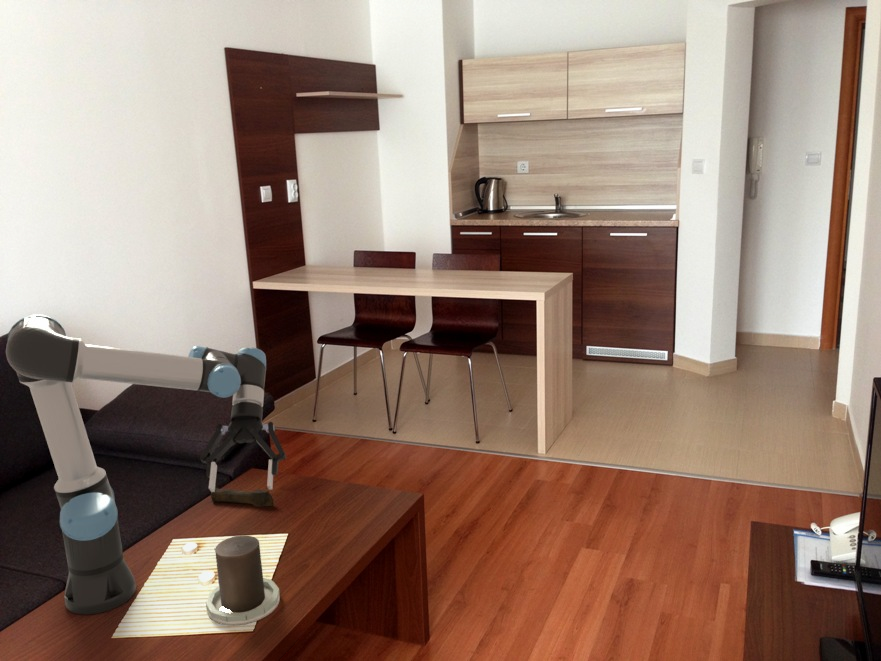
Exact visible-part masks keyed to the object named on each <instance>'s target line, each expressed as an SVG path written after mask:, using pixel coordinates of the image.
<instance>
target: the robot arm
mask: <svg viewBox="0 0 881 661" xmlns="http://www.w3.org/2000/svg"><path fill="white" fill-rule="evenodd" d="M5 346H6V348H5V355H6V360H7V362H8V364H9V366H10V367H11V368H12V369H13V370H14V371H15V372H16V375H17V378H18V382H19V383H20V384H22V385H24V386H27V387H29V390H30V394H31V397H32V399H33V403H34V405H35V408H36V413H37V415H38V418H39V421H40V425H41V427H42V431H43V434H44V437H45V441H46V443H47V446H48V447H47V448H48V449H49V453H50V456H51V459H52V462H53V464H54V468H55V472H56V474H57V476H58V477H57V478H58V480H57V481H56V483H55V484H54V486H53V490H54V491H55V492H54V493H55V495H56V498H57V500H58V504H59V507H60V512H59V526H60V529H61V531H62V532H61V533H62V538H63V544H64V550H65V551H64V552H65V556H66V561H67V570H68V575H67V581H66V586H65V590H64V604H65V608H66V609H67V610H68V611H69V612H71V613H73V614H75V615H76V614H77V615H95V614H96V615H97V614H101V613H104V612H108V611H111V610H113V609H116V608H118V607H120V606H122V605H123V604H125V603H126V602H127V601H129V600H130V599H131V598H132V597H133V596H134V594H135V593H136V589H137V585H136V579H135V576H134V574H133V573H132V571H131V569H130V567H129V566H128V564H127V562H126V560H125V559H124V553H123V552H124V551H123V546H122V540H121V532H120V526H119V524H120V523H119V519H118V517H119V516H118V514H119V513H118V507H117V506H116V502H115V500H116V499H115V493H114V490H113V488H112V486H111V485H110V482H109V479H108V476H107V473H106V470H105V469H104V468H102V467H99V466H97V463H96V459H95V456H94V453H93V449H92V446H91V444H90V440H89V436H88V433H87V429H86V426H85V424H84V421H83V418H82V413H81V410H80V407H79V405H78V400H77V397H76V394H75V390H74V388H73V384H72V383H75V382H76V381H79V380H80V379H83V380H93V381H101V382H110V383H121V384H129V385H130V384H132V385H141V386H149V387H151V386H152V387H158V388H159V387H161V388H169V389H178V390H180V389H181V390H190V391H198V392H206V393H211V394H212V395H214V396H215V397H218V398H222V399H223V398H224V399H225V398H229V397H232V401H231V402H232V407H231V411H230V412H231V414H230V423H229V425H223V424H221V423H217V424H216V425H217V426H216V429H215V432H214V433H213V435H212V436H211V437H210V438H211V439H210V440H209V441H208V443H207V444H206V447H205V448H204V449H203V451H202V452H201V454H200V456H199V460H200V461H201V462H202V464H206V471H205V475H206V477H207V478H209V481H208V490H209V491H210V492H211V493H212V492H215V488H216V483H217V482H216V481H217V472H218V465H217V462H218V461H219V460H220V459H221V457H223V456H224V455H225V453H227V451H229V450H230V449H231V448H232V447H233V446H235V445H236V443H238V444H244V443H247V444H252V443H253V442H255V443H257V444H258V445H259V446H260V448H261V449H262V450H263V452H265V453H266V454H267V456H268V457H269V458H270V459H268V468H267V482H266V487H267V488H268V491H269V490H270V491H271V490H273V484H274V483H273V482H274V476H277V475H278V473H279V462H281V461H285V460H287V455H286V453H285V451H284V449H283V447H282V445H281V443H280V441H279V438H278V437H277V435H276V430H275V429H276V428H275V425H274V423H273V421H269V422H268V423H265V424H263V412H264V411H263V410H264V409H263V407H264V400H265V399H264V398H265V382H266V373H267V372H266V371H267V357H266V353H265V352H264V351H263V350H262V349H259V348H256V347H248V346H247V347H242V348H241V349H239V350H238V351H237V353H232V352H226V351H223V350H218V349H214V348H209V347H208V346H200V345H194V346H193V347H192V348H191V349H190V351H189V353H188V356H185V355H175V354H167V353H161V352H154V351H144V350H136V349H127V348H121V347H120V348H119V347H114V346H113V347H111V346H105V345H104V346H103V345H95V344H87V343H85V342H84V341H83V339H81V338H77V337H71V336H67V334H66V331H65V328H64V327H62V325H61V324H60V323H59V322H58V320H56V319H55V318H52V317H50V316H48V315H45V314H31V315H27V316H25V317H22V318H21V319H19V320H18V321H17V322H15V323H14V324H13V325H12V327H11V328H10V330H9V331H8V334H7V343H6V345H5ZM263 431H266V434H269V435H270V438H271V440H272V442H273V444H274V446H275V448H276V450H277V454H276V453H275V451H274V450H272V448H271V447H270V446H269V445H268V444H267V442H265V440H264V439H263V437H261V436H260V435H261V434H262V432H263ZM227 432H228V433H229V435H227V437H226V438H225V440H223V442H222V443H221V440H222V439H223V436H225V435H226V433H227ZM219 443H221V444H220V445H219ZM218 445H219V446H218ZM217 446H218V447H217Z"/></svg>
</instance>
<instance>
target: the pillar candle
mask: <svg viewBox="0 0 881 661" xmlns="http://www.w3.org/2000/svg"><path fill="white" fill-rule="evenodd" d="M260 546H261V545H260V541H259V539H258V538H257V537H254V536H251V535H243V534H240V535H235V536H232V537H228V538H226V539H222V541H221V542H218V543H217V545H216V546H215V547H214V552H215V560H216V568H217V569H216V570H217V581H218V586H219V589H220V597H221V605H222V606H224V607H225V608H227V609H230V610H231V611H232V612H245V611H249V610H252V609H254V608H256V607H257V606H259V605H261V604H262V602H263V601H264V599H265V592H264V582H263V578H264V575H263V566H262V565H263V564H262V557H261V547H260Z"/></svg>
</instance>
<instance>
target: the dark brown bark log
mask: <svg viewBox="0 0 881 661" xmlns="http://www.w3.org/2000/svg"><path fill="white" fill-rule="evenodd" d="M210 498H211V502H212V503H215V502H217V503H220V502H223V503H224V502H225V503H237V504H247V505H248V504H249V505H250V504H251V505H253V506H254V507H256V508H257V507H258V508H259V507H270V506H274V503H275V502H274V498H273V496H272V494H271V493H270V491H269V490H265V489H264V490H263V489H254V490H253V491H248V490H247V491H246V490H244V491H243V490H232V489H221V488H219V487H215V492H211V493H210Z"/></svg>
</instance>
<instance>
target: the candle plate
mask: <svg viewBox="0 0 881 661" xmlns="http://www.w3.org/2000/svg"><path fill="white" fill-rule="evenodd" d="M263 582H264V592H265V599H264V601H263V602H262V604H261V605H259V606H257V607H256V608H254V609H252V610H249V611H245V612H233V613H231V614H229V613H225V612H222V611H219V608H220V607H221V606H222V605H221V597H220V589H219V585H218V586H217V587H215V589H213V590H212V591H211V592H210V593H209V595H208V596H207V598H206V599H207V600H206V601H205V608H206V614H207V616H208V617H209V618H210V619H211V620H212V621H213V622H215V623H218V624H221V625H225V626H242V625H247V623H248V624H252V623H254V622H257V621H259V620H262V619H264V618H266V617H267V616H269V615H270V614H272V612H274V611H275V610H276V609H277V608H278V606H279V603H280V601H281V600H280V599H281V597H280V596H281V595H280V587H278V585H277V584H276V583H275V581H273V580H272V579H269V578H267V577H266V578H265V577H263Z"/></svg>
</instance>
